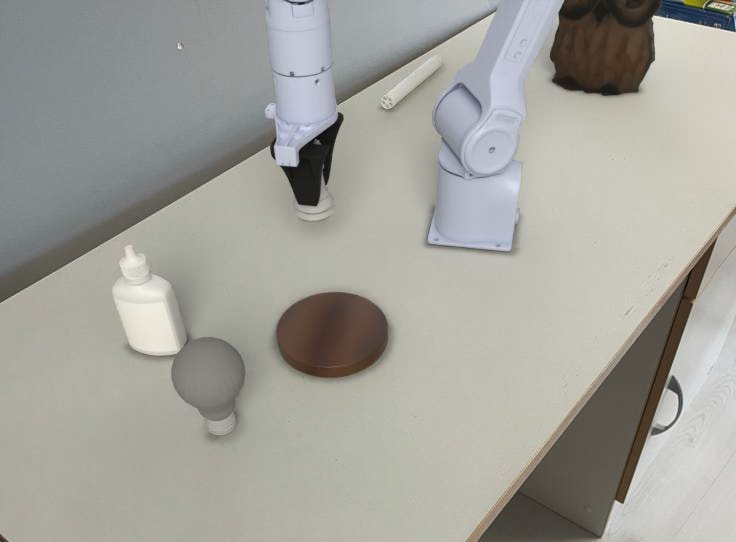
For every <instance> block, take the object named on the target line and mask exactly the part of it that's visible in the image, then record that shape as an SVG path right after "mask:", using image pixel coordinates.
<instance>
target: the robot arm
mask: <svg viewBox="0 0 736 542" xmlns="http://www.w3.org/2000/svg"><path fill="white" fill-rule="evenodd" d="M563 2H564V0H500V1H499V4H498V6H497V8H496V10H495V13H494V16H493V17H492V20H491V21H490V24H489V27H488V29H487V31H486V34H485V36H484V38H483V40H482V42H481V45H480V47H479V49H478V52H477V54H476V56H475V58H474V59H473V60H472V61H470V62H469V63H467V64H465V65H463V66H461V67H460V68H458V69H457V71H456V73H455V75H454V77H453V79H452V81H451V82H450V84H449V86H448V87H447V88H446V89H445V90H444V91H443V92H442V93H441V94H440V95H439V96H438V98H437V99H436V101H435V102H434V105H433V107H432V111H431V123H432V126H433V128H434V130H435V132H436V133H437V134H438V135H439V136H441V137H440V147H439V151H438V157H437V160H438V161H437V176H436V177H437V178H436V194H435V195H436V197H435V207H434V211H433V215H432V219H431V223H430V226H429V227H430V228H429V231H428V235H427V241H426V242H427V244H429V245H437V246H446V247H448V246H449V247H458V248H468V249H478V250H488V251H499V252H510V251H512V248H513V241H514V240H513V239H514V233H515V226H516V225H518V223H519V217H520V208H519V207H518V205H519V198H520V192H521V184H522V177H523V176H522V175H523V168H524V162H523V161H521V160H517V159H514V158H515V156H516V155H517V153H518V150H519V147H520V134H521V130H522V129H521V128H522V127H523V124H524V122H525V120H526V118H527V117H528V109H527V99H526V91H525V82H526V80H527V79H528V77H529V74H530V73H531V70H532V68H533V66H534V64H535V62H536V60H537V58H538V56H539V53H540V52H541V49H542V47H543V45H544V43H545V42H546V39H547V37H548V36H549V35H548V34H549V33H550V31H551V29H552V27H553V25H554V22H555V21H556V18H557V16H558V12H559V10H560V8H561V6H562V4H563ZM263 4H264V6H265V11H264V22H265V31H266V38H267V39H266V40H267V47H268V54H269V55H268V56H269V64H270V72H271V80H272V87H273V97H274V102H271V103H269V104H268V105H267V106H266V107H265V109H264V117H265V119H268V120H274V123H275V131H276V133H275V134H276V137H274V138H273V140H272V142H271V143H270V145H269V150H270V155H271V158H272V159H273V160H274V161H275V165H276V166H279V167H280V168H281V170H282V171H283V174H284V175H285V176H286V178H287V180H288V183H289V186H290V188H291V190H292V193H293V196H294V198H296V200H297V202H298V204H299V205H306V206H317V205H318V203H319V199H320V193H321V177H322V170H323V177H324V181H325V185H326V187H327V186H328V184H329V180H330V176H331V169H332V162H333V157H334V156H333V155H334V151H335V150H334V149H335V146H336V141H337V137H338V134H339V131H340V129H341V126H342V124H343V122H344V120H345V117H344V114H343V113H342V112H340V111H339V110H338V104H337V99H336V89H335V76H334V73H335V72H334V60H333V43H332V29H331V28H332V27H331V12H330V8H329V0H263ZM315 139H317V140H319V143H321V145H319V144H313V143H314V140H315ZM323 165H324V168H323Z"/></svg>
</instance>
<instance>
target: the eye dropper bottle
mask: <svg viewBox="0 0 736 542" xmlns="http://www.w3.org/2000/svg"><path fill="white" fill-rule="evenodd" d="M118 264H119V267H120V270H121V274H122V276H120V277H119V278H118V279H117V280H115V282H114V284H113V286H112V288H111V295H112V298H113V302H114V305H115V308H116V311H117V313H118V317H119V319H120V323H121V325H122V329H123V331H124V334H125V337H126V339H127V341H128V344H129V346H130V347H131V349H132V350H134V351H136V352H138V353H141V354H144V355H148V356H155V357H162V356H163V357H164V356H172V355H177V354H178V352H179V351H180V350H181V348H183V347H184V346H185V345H186V344H187V341H188V336H187V332H186V329H185V324H184V321H183V318H182V314H181V310H180V307H179V303H178V300H177V296H176V294H175V290H174V287H173V285H172V284H171V283H170V281H168V280H166V278H163V277H161V276H159V275H157V274H155V273H152V271H151V268H150V265H149V262H148V259H147V256H146V254H144V253H142V252H139V251H136V250H135V248H134V246H133V245H132V244H127V245H125V246H124V255H123V256H122V257H121V258H120V260H119V262H118Z"/></svg>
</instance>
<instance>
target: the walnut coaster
mask: <svg viewBox="0 0 736 542" xmlns="http://www.w3.org/2000/svg"><path fill="white" fill-rule="evenodd" d="M388 325H389V324H388V320H387V318H386V315H385V314H384V312H383V310H382V309H381V308H380V307H379V306H378V305H377V304H376V303H374V302H373V301H371V300H370V299H368V298H366V297H364V296H361V295H358V294H355V293H350V292H344V291H328V292H320V293H316V294H311V295H309V296H306V297H304V298H302V299H300V300H298V301H296V302H294V303H293V304H292V305H291V306H289V307H287V309H286V310H284V312H283V313H282V314H281V316H280V317H279V320H278V322H277V325H276V333H275V334H276V340H277V341H276V342H277V346H278V351H279V354H280V356H282V358H283V360H284V361H285V362H286V363H287V364H288V365H289V366H291V367H292V368H293V369H295V370H296V371H299V372H300V373H303V374H305V375H309V376H312V377H317V378H323V379H324V378H325V379H328V378H329V379H331V378H333V379H334V378H335V379H337V378H344V377H349V376H351V375H355V374H358V373H361V372H362V371H364V370H366V369H368V368H369V367H371V366H372V365H374V364H375V363H376V362H377V361H378V360H379V359H380V358H381V356H382V355H383V353H384V352H385V350H386V348H387V345H388V341H389V340H388V339H389V338H388Z"/></svg>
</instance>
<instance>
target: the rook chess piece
mask: <svg viewBox="0 0 736 542" xmlns="http://www.w3.org/2000/svg"><path fill="white" fill-rule="evenodd" d="M313 144H319V145H321V143H319V140H317V139H315V140H314V143H313ZM323 168H324V165H323ZM334 200H335V199H334V196H333V194H332V193H331V192H330V190H329V188H328V187H327V186H326V185H325V181H324V177H323V170H322V177H321V193H320V199H319V203H318V205H317V206H306V205H299V204H298V202H297V200H296V198H295V197H294V198H293V204H292V205H293V213H294V215H295V217H297V218H298V219H299V220H301V221H303V222H305V223H310V224H313V223H320V222H321V223H322V222H324V221H327V220H328V219H329V218H331V216H332V215H333V214H334V212H335V209H336V206H335V203H334Z"/></svg>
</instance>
